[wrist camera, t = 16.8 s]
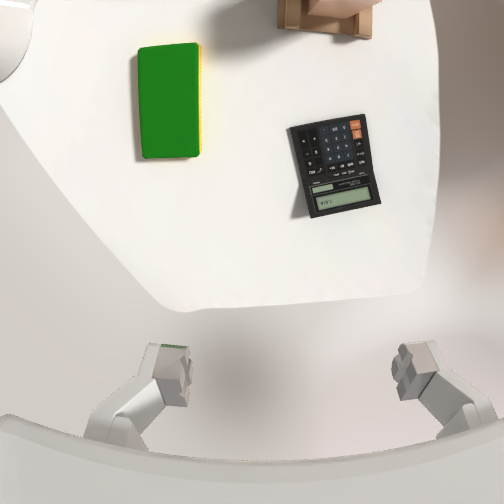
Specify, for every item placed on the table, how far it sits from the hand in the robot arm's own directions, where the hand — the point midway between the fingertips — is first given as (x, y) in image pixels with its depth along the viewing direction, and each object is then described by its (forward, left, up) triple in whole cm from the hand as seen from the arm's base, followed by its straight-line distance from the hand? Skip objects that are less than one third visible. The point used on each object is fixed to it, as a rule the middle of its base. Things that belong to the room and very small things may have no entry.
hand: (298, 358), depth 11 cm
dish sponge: (-12, -6, -32) cm, 34 cm away
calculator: (+6, +6, -32) cm, 33 cm away
